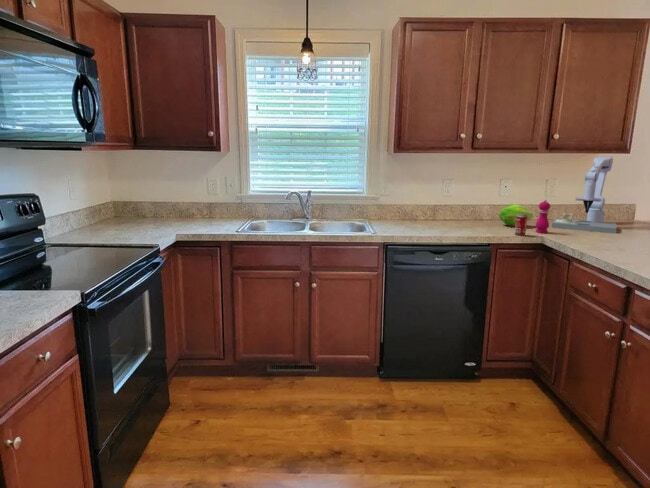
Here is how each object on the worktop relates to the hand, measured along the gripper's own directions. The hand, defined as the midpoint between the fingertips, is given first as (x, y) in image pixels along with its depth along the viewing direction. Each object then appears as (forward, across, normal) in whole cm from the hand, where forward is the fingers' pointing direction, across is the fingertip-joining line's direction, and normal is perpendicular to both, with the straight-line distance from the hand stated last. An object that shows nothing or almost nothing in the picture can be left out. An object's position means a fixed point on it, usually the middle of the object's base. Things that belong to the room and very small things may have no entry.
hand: (586, 212), depth 272 cm
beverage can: (+9, -30, -53) cm, 61 cm away
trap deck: (+9, +1, -4) cm, 10 cm away
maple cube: (+6, -10, -5) cm, 13 cm away
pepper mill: (+9, -20, -37) cm, 43 cm away
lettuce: (+9, -38, -24) cm, 46 cm away
